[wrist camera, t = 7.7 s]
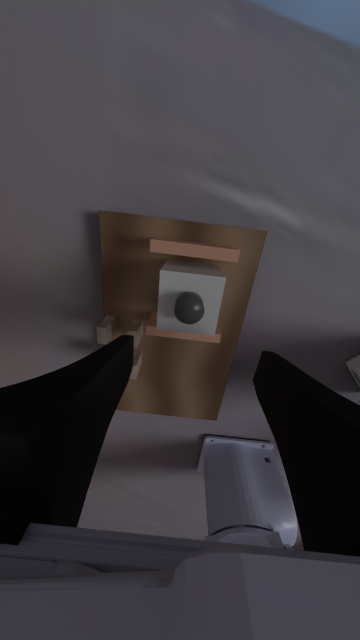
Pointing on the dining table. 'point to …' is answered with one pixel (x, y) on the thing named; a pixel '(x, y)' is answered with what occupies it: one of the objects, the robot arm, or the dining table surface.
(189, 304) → the block
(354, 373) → the syrup box
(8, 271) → the dining table surface
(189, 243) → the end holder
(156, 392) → the board
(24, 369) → the dining table surface
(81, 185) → the dining table surface
